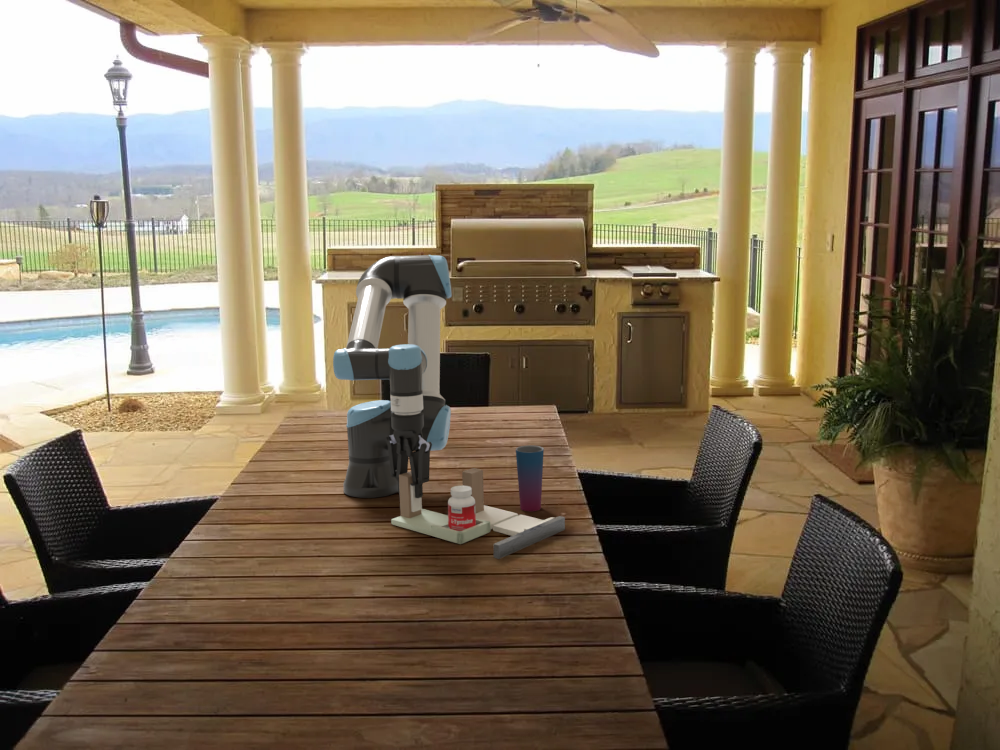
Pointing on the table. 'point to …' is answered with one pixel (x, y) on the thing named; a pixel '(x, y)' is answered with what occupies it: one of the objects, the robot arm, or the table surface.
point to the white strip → (518, 524)
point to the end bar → (528, 537)
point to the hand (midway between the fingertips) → (411, 508)
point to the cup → (530, 476)
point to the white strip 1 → (483, 512)
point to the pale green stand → (432, 518)
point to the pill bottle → (461, 508)
